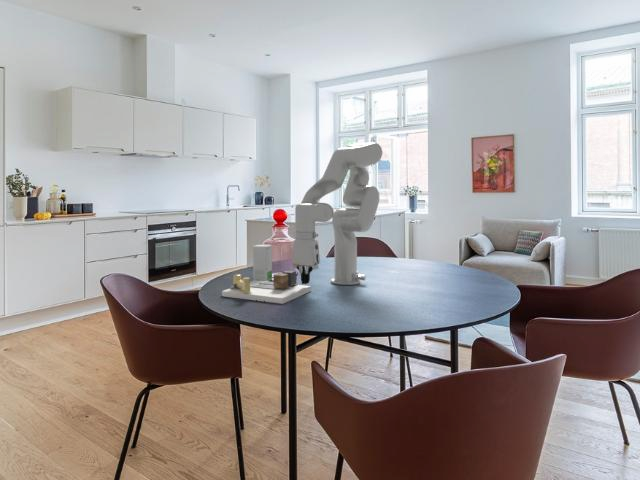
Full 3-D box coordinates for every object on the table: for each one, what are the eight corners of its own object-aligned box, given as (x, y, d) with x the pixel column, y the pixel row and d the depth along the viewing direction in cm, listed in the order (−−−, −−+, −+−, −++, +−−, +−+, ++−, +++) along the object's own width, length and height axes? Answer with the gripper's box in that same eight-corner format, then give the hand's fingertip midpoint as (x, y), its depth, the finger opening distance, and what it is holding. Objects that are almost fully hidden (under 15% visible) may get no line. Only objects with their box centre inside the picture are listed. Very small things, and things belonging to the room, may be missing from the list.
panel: (310, 291, 183) (310, 285, 183) (282, 303, 163) (282, 297, 163) (252, 284, 195) (252, 279, 194) (220, 295, 175) (219, 289, 175)
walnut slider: (288, 286, 179) (287, 273, 178) (282, 288, 175) (282, 275, 174) (279, 285, 180) (278, 273, 180) (273, 287, 177) (273, 274, 176)
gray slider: (296, 283, 184) (296, 271, 184) (291, 285, 181) (291, 272, 180) (287, 282, 186) (287, 270, 186) (282, 284, 183) (282, 272, 182)
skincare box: (266, 283, 198) (266, 246, 197) (252, 282, 200) (251, 246, 198) (272, 279, 206) (272, 244, 205) (258, 278, 208) (257, 243, 206)
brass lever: (251, 292, 170) (251, 278, 169) (243, 293, 168) (243, 278, 168) (240, 285, 182) (239, 272, 181) (232, 285, 180) (232, 272, 180)
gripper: (327, 236, 178) (327, 283, 180) (292, 234, 185) (293, 279, 187) (318, 238, 172) (318, 287, 174) (283, 236, 178) (283, 283, 180)
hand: (305, 283), depth 180 cm, fingers closed
